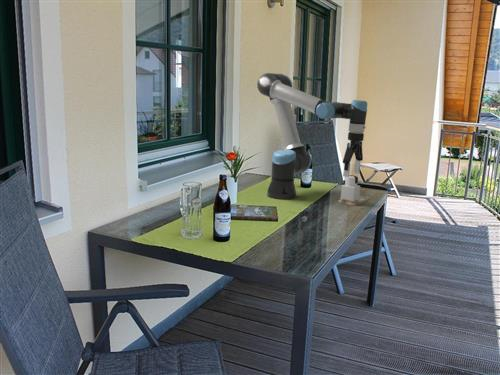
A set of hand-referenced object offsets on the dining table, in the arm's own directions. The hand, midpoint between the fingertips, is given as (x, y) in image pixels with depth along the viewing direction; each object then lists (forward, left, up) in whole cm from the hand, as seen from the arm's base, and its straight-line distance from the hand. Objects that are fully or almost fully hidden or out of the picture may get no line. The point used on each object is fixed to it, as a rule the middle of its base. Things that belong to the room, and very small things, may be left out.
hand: (351, 175), depth 246 cm
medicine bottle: (0, 0, -13) cm, 13 cm away
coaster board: (0, +6, -14) cm, 15 cm away
